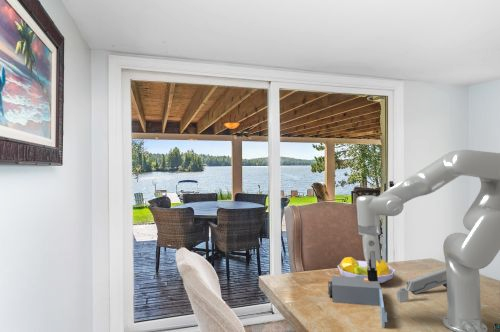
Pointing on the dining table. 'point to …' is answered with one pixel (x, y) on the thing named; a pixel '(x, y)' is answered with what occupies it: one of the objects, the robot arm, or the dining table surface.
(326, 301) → the dining table surface
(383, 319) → the side door
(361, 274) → the fruit bowl
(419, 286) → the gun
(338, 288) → the grey block
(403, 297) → the pale grey angled bracket
